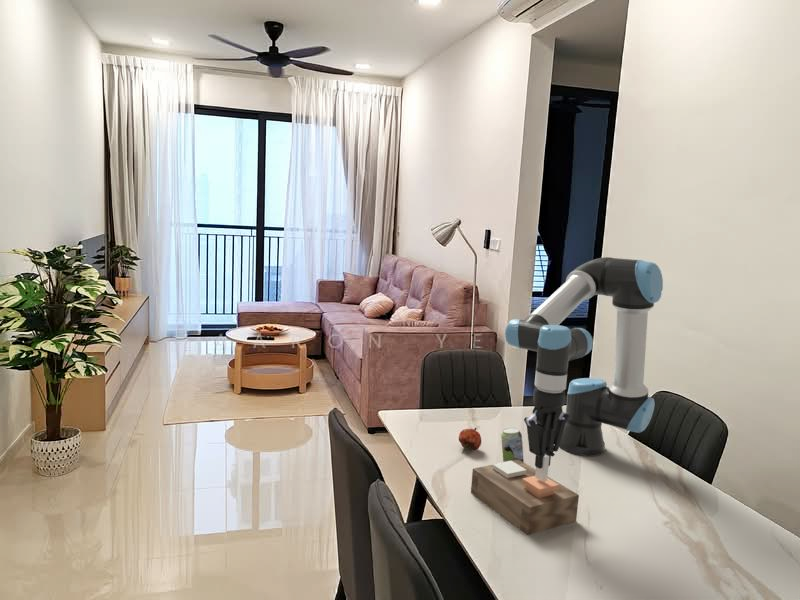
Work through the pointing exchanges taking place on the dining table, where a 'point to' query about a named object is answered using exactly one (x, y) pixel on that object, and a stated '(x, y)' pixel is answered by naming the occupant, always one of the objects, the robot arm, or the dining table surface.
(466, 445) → the red round fruit
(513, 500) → the brown boxy piece
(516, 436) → the beverage can
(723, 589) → the dining table surface
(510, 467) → the white block
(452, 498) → the dining table surface
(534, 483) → the terracotta key
